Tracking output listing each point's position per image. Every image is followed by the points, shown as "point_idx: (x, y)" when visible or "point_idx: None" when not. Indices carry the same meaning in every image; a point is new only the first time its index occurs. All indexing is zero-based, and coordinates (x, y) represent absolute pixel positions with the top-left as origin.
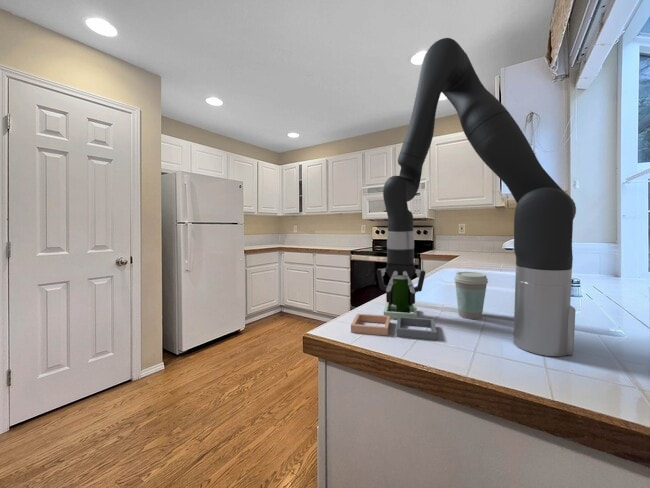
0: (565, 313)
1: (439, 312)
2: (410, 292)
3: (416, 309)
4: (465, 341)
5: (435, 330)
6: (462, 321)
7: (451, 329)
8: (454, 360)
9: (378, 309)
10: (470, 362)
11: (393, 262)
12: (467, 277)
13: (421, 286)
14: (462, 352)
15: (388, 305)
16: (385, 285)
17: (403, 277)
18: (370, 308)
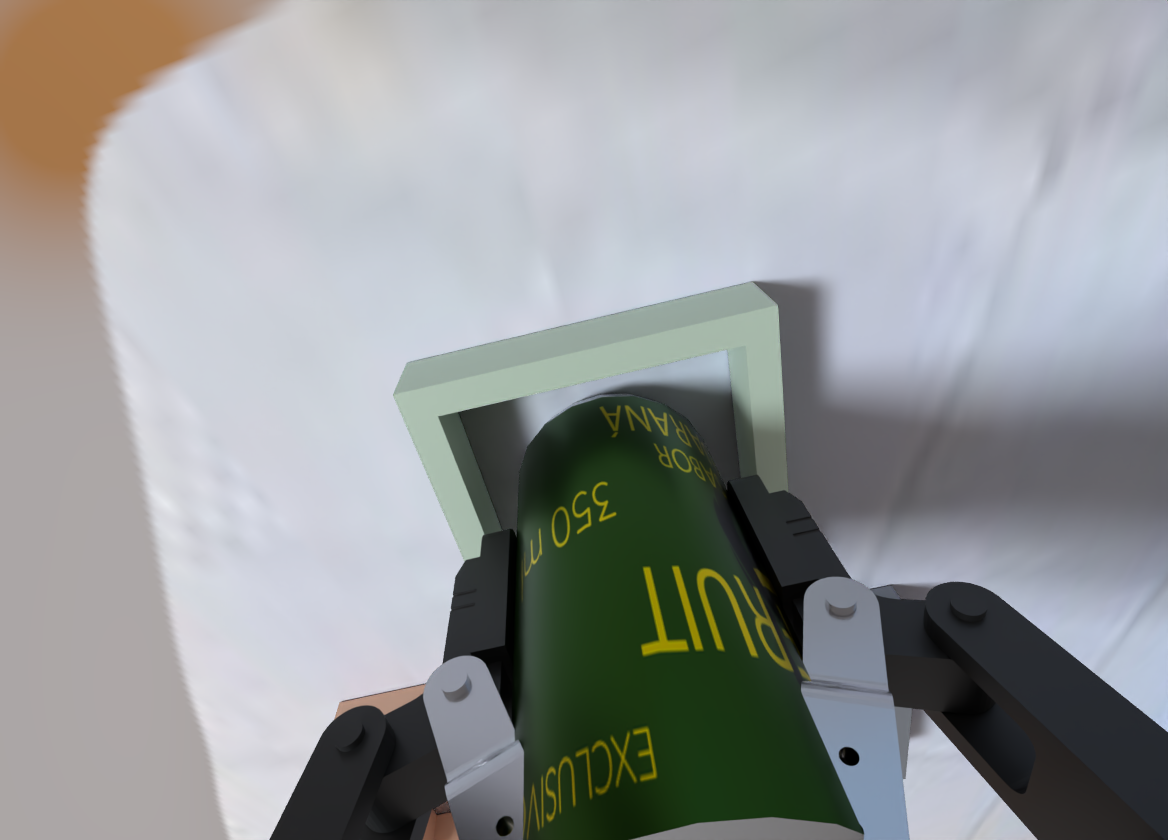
0: None
1: (1011, 230)
2: (791, 623)
3: (785, 475)
4: None
5: (901, 764)
6: (1153, 406)
7: (1002, 587)
8: (924, 829)
9: (344, 424)
10: (980, 819)
11: None
12: None
13: (1015, 736)
14: (975, 777)
15: (444, 417)
16: (414, 771)
17: None
18: (246, 431)
